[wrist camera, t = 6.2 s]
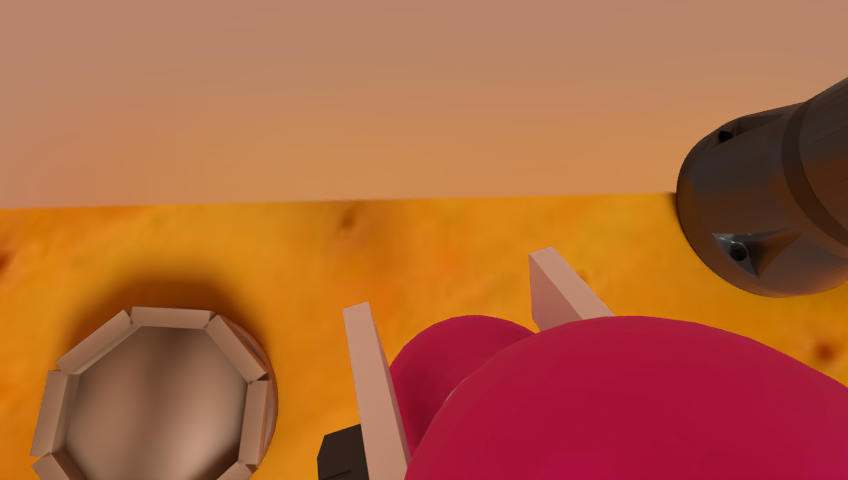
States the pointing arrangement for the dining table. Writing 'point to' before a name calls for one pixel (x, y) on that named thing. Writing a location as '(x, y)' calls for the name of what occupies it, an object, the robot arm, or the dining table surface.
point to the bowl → (158, 401)
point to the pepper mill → (613, 404)
